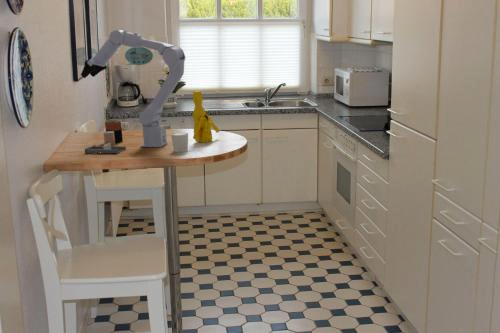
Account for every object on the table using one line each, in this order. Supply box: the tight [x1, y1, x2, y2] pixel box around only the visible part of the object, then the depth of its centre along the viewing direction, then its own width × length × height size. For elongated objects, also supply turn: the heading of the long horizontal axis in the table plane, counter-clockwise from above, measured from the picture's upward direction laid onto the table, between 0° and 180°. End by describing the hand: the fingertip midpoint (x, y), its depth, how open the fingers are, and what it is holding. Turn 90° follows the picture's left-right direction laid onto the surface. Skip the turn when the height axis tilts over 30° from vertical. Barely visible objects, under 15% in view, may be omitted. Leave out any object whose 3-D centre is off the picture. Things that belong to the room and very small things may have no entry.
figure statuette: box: [192, 90, 221, 144], centre depth 274 cm, size 18×8×22 cm, turn 145°
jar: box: [103, 130, 116, 146], centre depth 271 cm, size 4×4×7 cm
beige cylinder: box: [171, 132, 189, 153], centre depth 258 cm, size 7×7×7 cm
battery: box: [104, 119, 124, 144], centre depth 285 cm, size 4×7×10 cm, turn 48°
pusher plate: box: [102, 143, 111, 150], centre depth 263 cm, size 1×5×3 cm, turn 165°
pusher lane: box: [84, 144, 127, 154], centre depth 263 cm, size 15×8×2 cm, turn 75°
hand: (87, 75), depth 273 cm, fingers open, 7 cm apart
